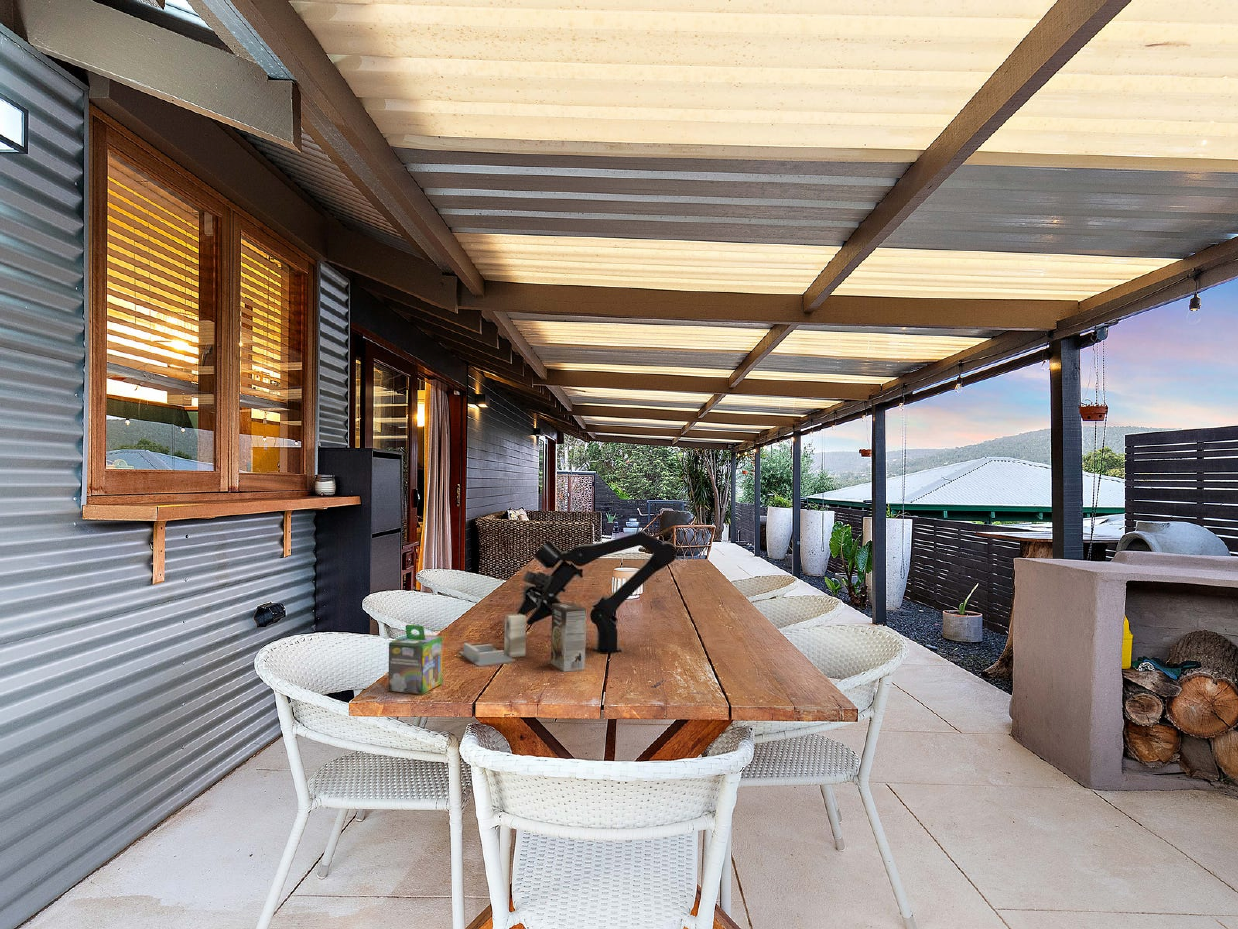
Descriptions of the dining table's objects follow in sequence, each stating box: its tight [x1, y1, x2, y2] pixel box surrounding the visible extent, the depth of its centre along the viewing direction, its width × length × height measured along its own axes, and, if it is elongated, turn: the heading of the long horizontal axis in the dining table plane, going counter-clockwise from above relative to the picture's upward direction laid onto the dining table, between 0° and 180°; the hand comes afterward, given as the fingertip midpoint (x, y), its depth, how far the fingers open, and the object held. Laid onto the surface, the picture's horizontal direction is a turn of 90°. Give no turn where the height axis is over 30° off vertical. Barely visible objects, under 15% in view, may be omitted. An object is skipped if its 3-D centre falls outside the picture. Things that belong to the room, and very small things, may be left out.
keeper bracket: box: [459, 642, 516, 668], centre depth 187 cm, size 16×10×4 cm, turn 31°
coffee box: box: [550, 602, 587, 673], centre depth 179 cm, size 9×6×16 cm
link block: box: [503, 613, 527, 658], centre depth 191 cm, size 4×5×11 cm
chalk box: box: [388, 624, 443, 696], centre depth 158 cm, size 9×9×15 cm
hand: (521, 620), depth 192 cm, fingers open, 9 cm apart
